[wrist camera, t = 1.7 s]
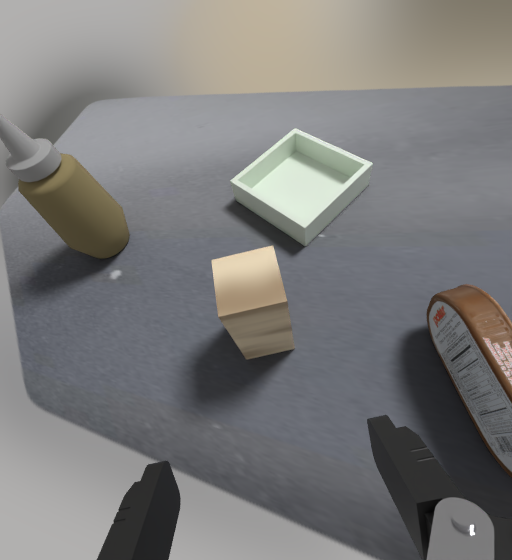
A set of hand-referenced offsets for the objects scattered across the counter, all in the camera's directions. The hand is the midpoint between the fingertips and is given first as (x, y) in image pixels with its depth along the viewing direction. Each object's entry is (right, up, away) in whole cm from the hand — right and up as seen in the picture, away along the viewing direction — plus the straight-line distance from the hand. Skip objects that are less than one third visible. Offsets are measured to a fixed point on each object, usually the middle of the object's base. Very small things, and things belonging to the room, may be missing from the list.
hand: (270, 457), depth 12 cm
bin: (+5, +19, +29) cm, 35 cm away
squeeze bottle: (-20, +12, +31) cm, 39 cm away
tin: (+18, -3, +15) cm, 24 cm away
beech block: (0, +2, +21) cm, 21 cm away
